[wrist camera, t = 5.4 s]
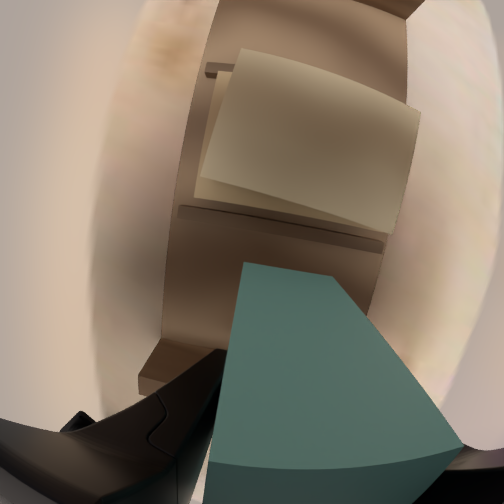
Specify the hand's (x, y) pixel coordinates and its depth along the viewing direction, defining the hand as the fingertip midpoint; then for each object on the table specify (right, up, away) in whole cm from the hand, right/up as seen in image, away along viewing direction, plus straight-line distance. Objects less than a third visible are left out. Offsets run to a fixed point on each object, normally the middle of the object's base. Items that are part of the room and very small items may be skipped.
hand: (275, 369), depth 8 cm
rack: (+1, +8, +6) cm, 10 cm away
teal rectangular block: (0, 0, +2) cm, 2 cm away
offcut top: (+2, +8, +2) cm, 8 cm away
